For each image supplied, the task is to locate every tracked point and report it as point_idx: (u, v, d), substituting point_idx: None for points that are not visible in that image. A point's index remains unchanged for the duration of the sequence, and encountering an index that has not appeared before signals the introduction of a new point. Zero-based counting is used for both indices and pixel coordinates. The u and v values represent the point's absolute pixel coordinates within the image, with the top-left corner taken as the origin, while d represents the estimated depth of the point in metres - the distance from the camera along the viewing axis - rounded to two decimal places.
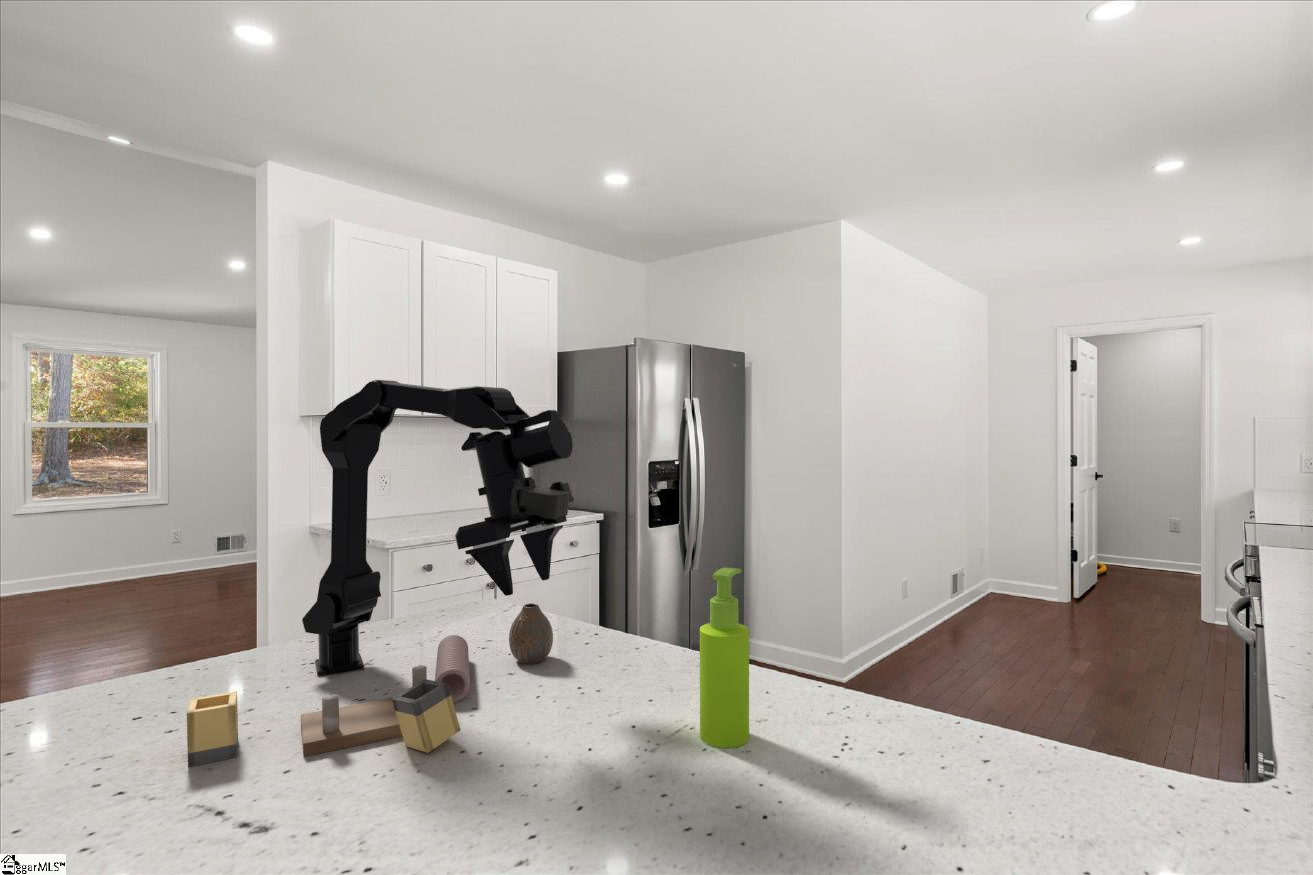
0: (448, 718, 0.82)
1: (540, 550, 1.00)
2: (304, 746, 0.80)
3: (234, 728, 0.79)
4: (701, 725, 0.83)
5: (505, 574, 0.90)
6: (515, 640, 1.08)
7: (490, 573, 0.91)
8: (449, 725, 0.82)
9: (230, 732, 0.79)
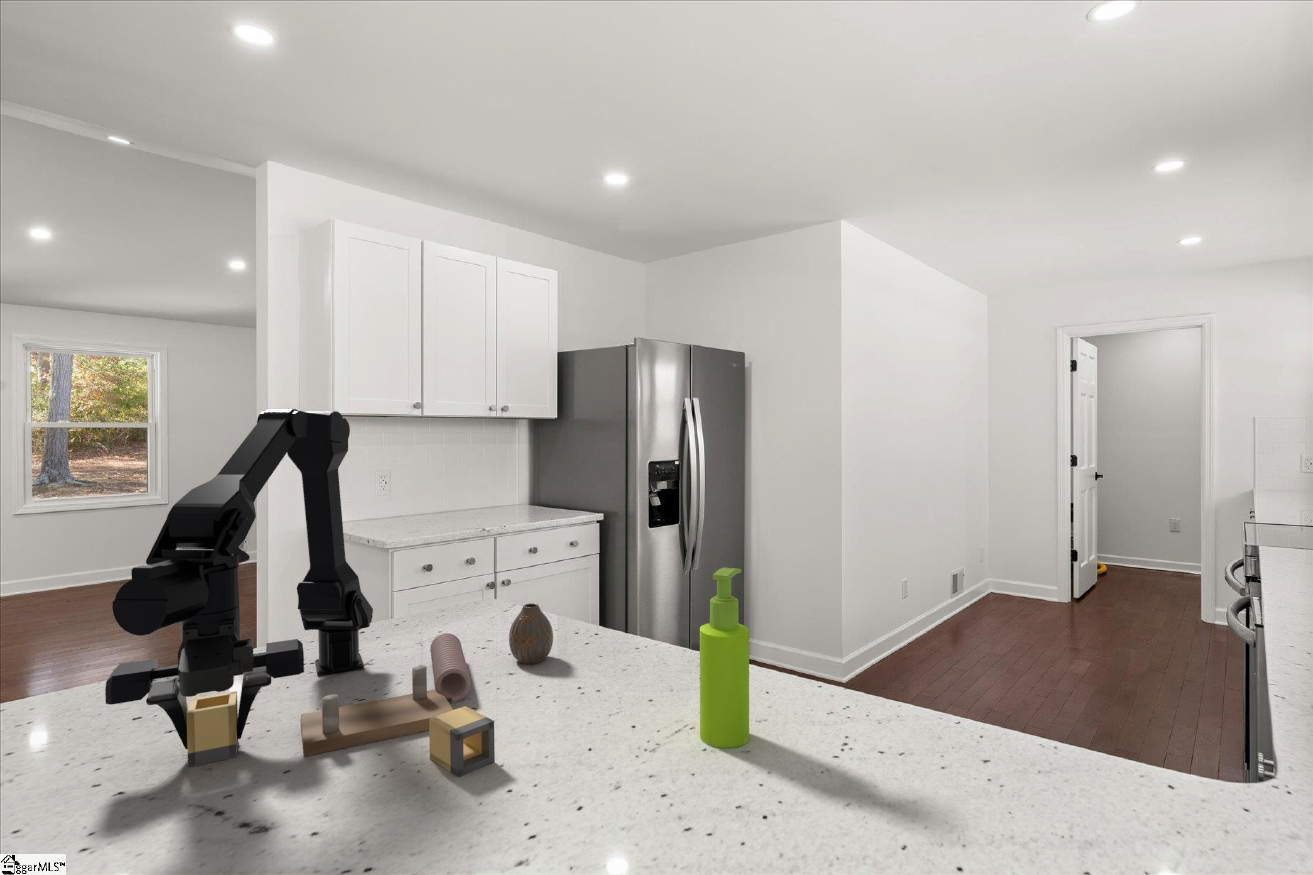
0: None
1: None
2: (304, 746, 0.80)
3: (234, 728, 0.79)
4: (701, 725, 0.83)
5: None
6: (515, 640, 1.08)
7: None
8: None
9: (230, 732, 0.79)
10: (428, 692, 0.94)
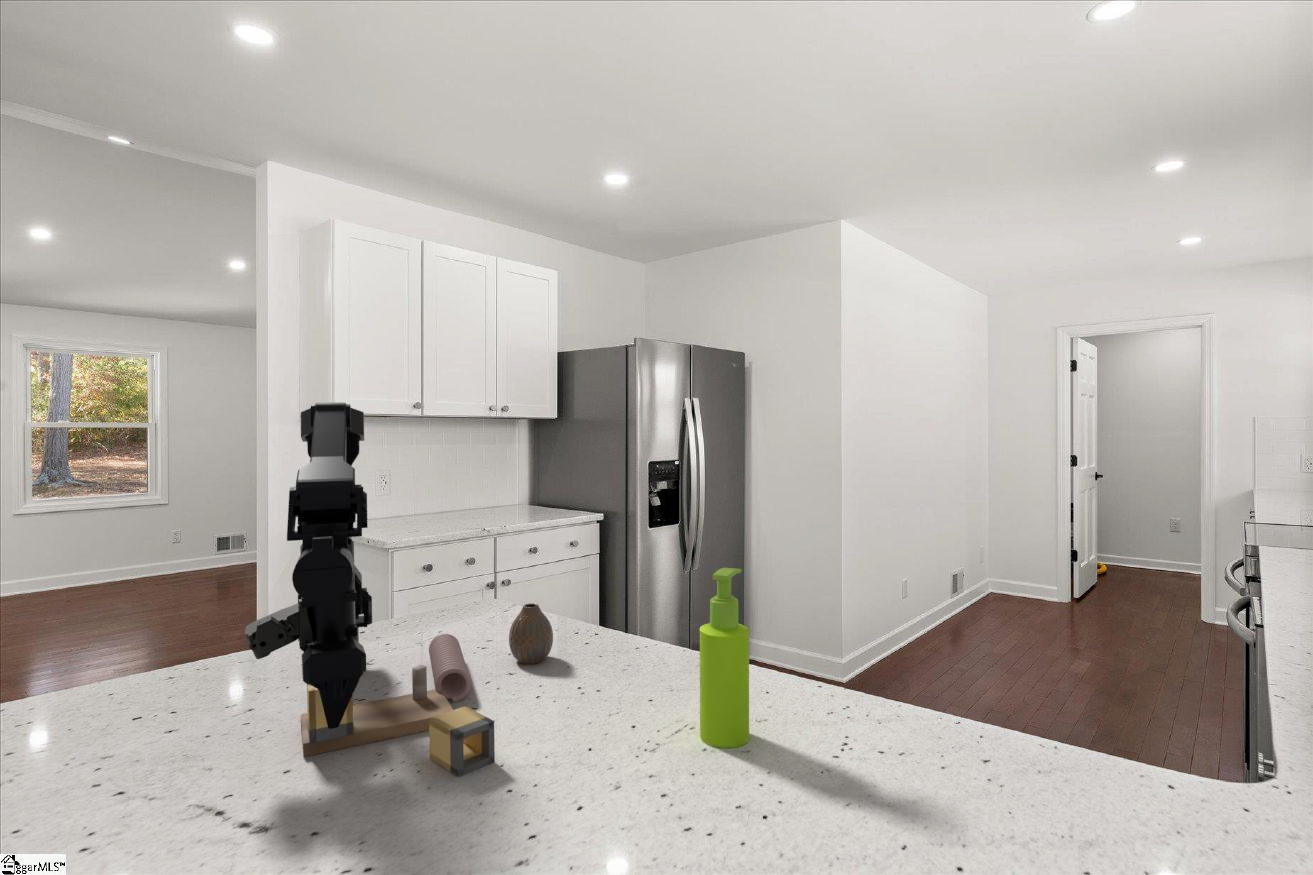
0: None
1: None
2: (304, 746, 0.80)
3: (309, 714, 0.80)
4: (701, 725, 0.83)
5: None
6: (515, 640, 1.08)
7: None
8: None
9: (308, 716, 0.80)
10: (428, 692, 0.94)
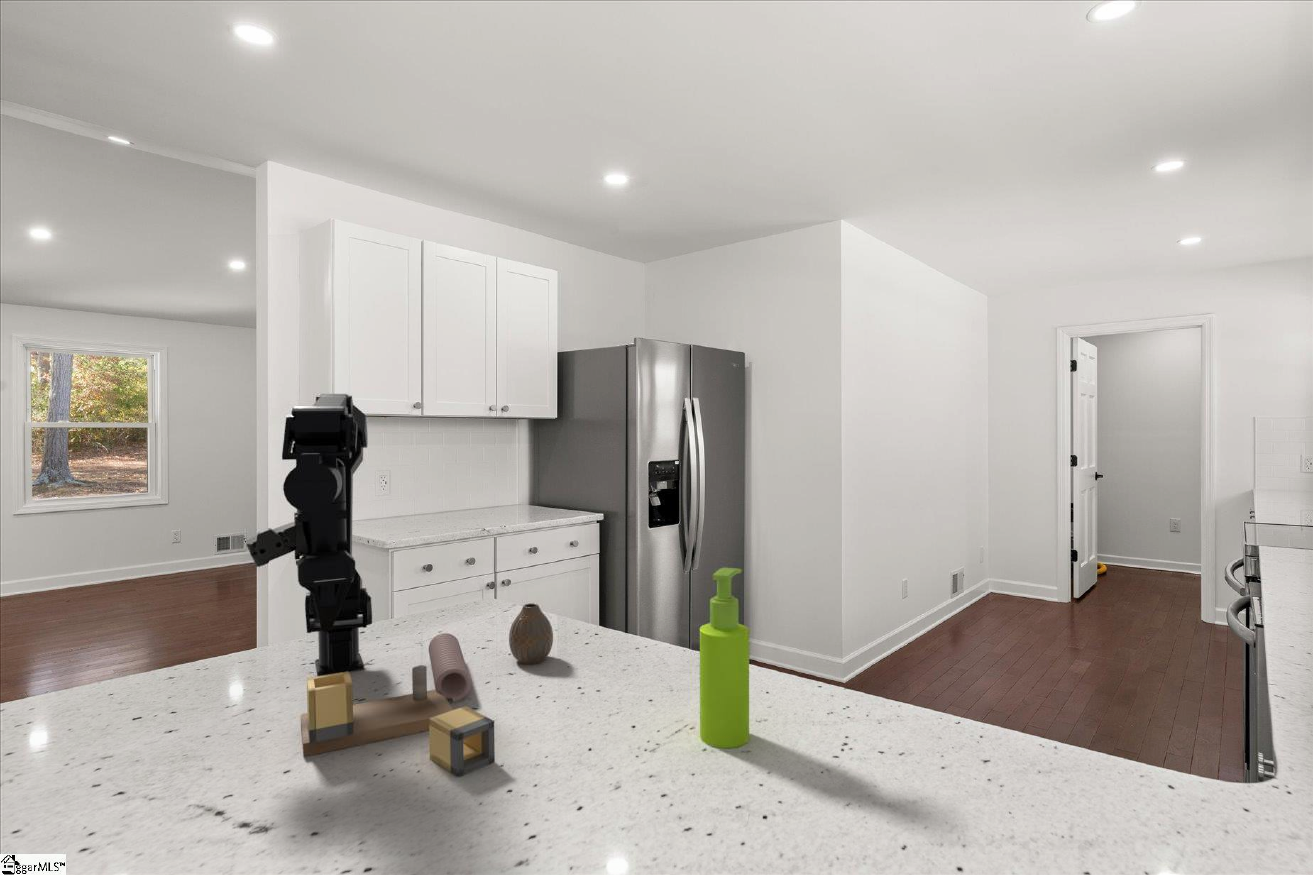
0: None
1: None
2: (304, 746, 0.80)
3: (309, 714, 0.80)
4: (701, 725, 0.83)
5: None
6: (515, 640, 1.08)
7: None
8: None
9: (308, 716, 0.80)
10: (428, 692, 0.94)
